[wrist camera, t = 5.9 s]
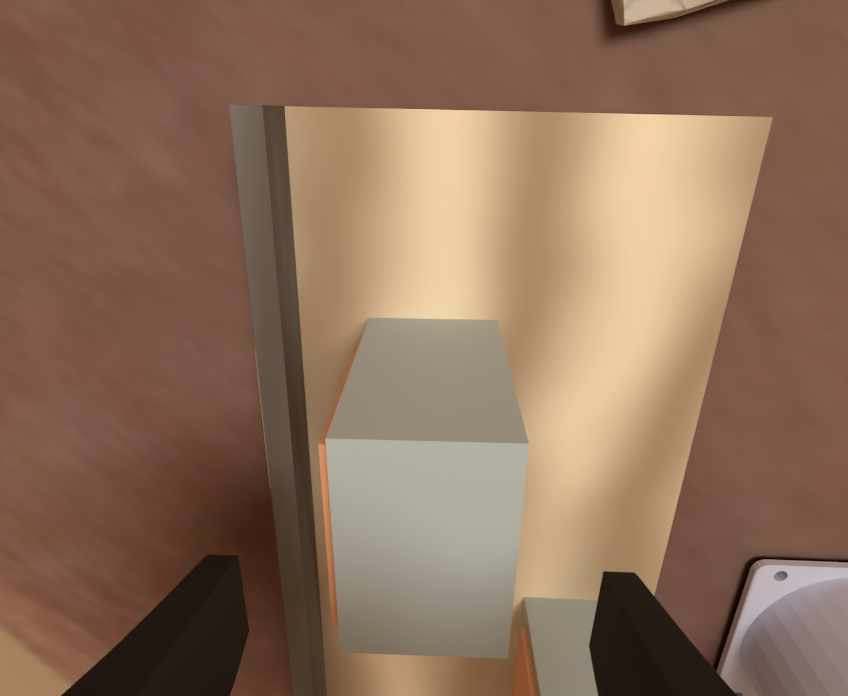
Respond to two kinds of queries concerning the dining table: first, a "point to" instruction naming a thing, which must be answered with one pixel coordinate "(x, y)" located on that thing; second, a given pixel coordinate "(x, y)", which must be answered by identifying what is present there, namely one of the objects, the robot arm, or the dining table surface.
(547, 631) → the faced carton
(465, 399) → the turn carton
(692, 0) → the packaged product
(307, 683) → the shelf board
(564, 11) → the dining table surface
